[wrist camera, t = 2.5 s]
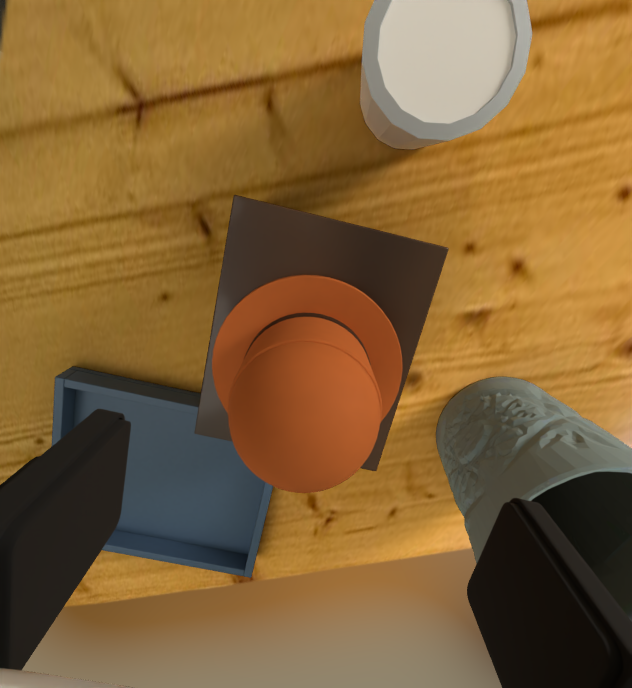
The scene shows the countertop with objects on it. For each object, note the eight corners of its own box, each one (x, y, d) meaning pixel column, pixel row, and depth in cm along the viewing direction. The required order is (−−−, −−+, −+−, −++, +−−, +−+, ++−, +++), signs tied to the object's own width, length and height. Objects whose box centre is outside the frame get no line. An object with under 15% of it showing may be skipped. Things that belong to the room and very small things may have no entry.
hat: (200, 430, 19) (140, 542, 13) (231, 253, 17) (175, 278, 10) (372, 465, 20) (400, 591, 13) (425, 300, 17) (492, 351, 11)
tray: (62, 520, 32) (46, 540, 30) (72, 365, 28) (54, 376, 26) (254, 557, 33) (251, 577, 31) (289, 412, 29) (287, 426, 27)
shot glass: (341, 34, 22) (352, -44, 16) (468, 13, 22) (535, -76, 15) (355, 169, 24) (370, 152, 18) (472, 152, 24) (532, 127, 17)
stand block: (231, 367, 28) (193, 434, 19) (262, 202, 25) (233, 194, 16) (358, 395, 29) (376, 471, 20) (404, 237, 25) (449, 248, 17)
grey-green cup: (567, 474, 30) (718, 629, 19) (433, 502, 31) (500, 668, 20) (556, 349, 28) (725, 443, 16) (408, 384, 28) (470, 498, 17)
